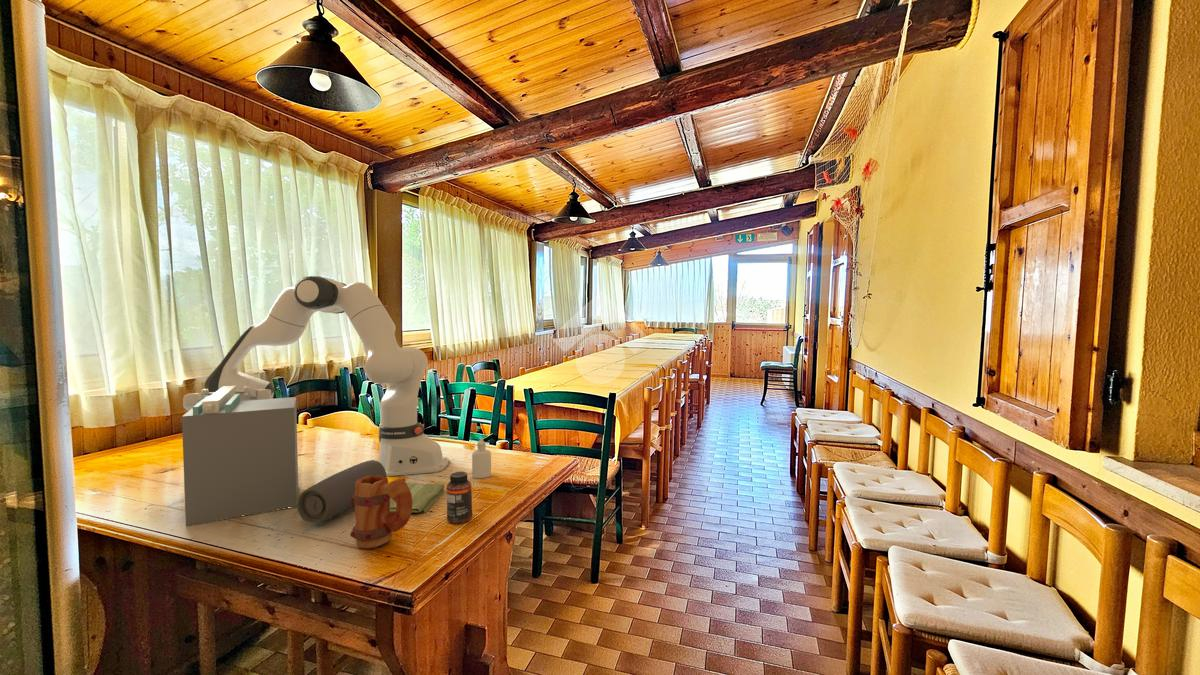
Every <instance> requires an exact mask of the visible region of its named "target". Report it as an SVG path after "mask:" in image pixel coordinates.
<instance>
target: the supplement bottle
mask: <svg viewBox="0 0 1200 675" xmlns="http://www.w3.org/2000/svg"><path fill="white" fill-rule="evenodd" d="M449 480H450V481H449V482H448V483H447V484H446V486H445V487H446V489H445V490H446V491H445V492H446V495H445V497H446V521H448V523H451V524H464V523H466V522H469V521H470V520H471V519H472V517H473V494H472V492H473V491H472V489H473V488H472V486H473V485H472V483H471V481H470V480H468V472H466V471H463V470H462V471H455V472H452V473H451V474H450V475H449Z"/></svg>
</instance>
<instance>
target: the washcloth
mask: <svg viewBox="0 0 1200 675" xmlns="http://www.w3.org/2000/svg"><path fill="white" fill-rule="evenodd" d="M405 482H406V484H407V485H408V487H409V489H410V491H411V495H412V501H413V503H412V512H411V514H414V513H415V514H419V513H420V514H426V513H427V512H428V511H429V510H431V508H432V507H433V505H434V504H435V503H436V502H437V500H438V499H439V498H440V497H441V496H442V494H443V493H444V490H445V487H446V486H445V484H444V483H436V482H434V483H432V482H431V483H430V482H429V483H428V482H426V483H419V482H412V481H411V482H410V481H405ZM396 504H397V503H396V502H395V501H394V500H393V499H392V498H390V512H391V513H393V514H395V512H396Z"/></svg>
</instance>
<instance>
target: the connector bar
mask: <svg viewBox="0 0 1200 675" xmlns="http://www.w3.org/2000/svg"><path fill="white" fill-rule="evenodd" d="M236 391H237V390H236V386H223V387H222V388H220V389H219V390H217V391H216V392H215V393H213V394H212V395H211V396H209V397H208V398H206V399H205V400H204V401H202V408H203V414H209V413H219V412H220V411H221V410H222V409H223V408H224V407H225V404H226V403H227V402H228V401H229V400H230V399H231V398H232V397H233V396H234V395H235V394H236Z"/></svg>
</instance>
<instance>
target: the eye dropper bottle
mask: <svg viewBox="0 0 1200 675" xmlns="http://www.w3.org/2000/svg"><path fill="white" fill-rule="evenodd" d="M471 459H472V460H471V461H472V462H471V467H472V468H471V470H472V472H471V473H472V478H473V479H486V478H491V476H492V453H491V450H488V449H486V442H485V441H484V439H483V437H480V438H479V441H478V442H477V449H476V450H474V451H473V452H472V454H471Z"/></svg>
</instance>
